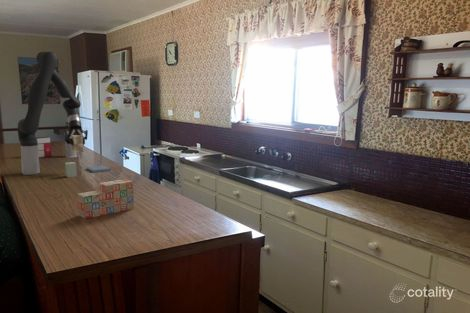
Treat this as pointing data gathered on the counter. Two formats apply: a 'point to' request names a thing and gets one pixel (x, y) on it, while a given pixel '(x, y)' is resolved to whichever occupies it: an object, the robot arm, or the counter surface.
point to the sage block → (70, 169)
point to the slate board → (98, 169)
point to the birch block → (77, 143)
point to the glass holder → (69, 150)
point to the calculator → (44, 147)
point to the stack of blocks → (106, 199)
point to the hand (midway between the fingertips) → (77, 144)
